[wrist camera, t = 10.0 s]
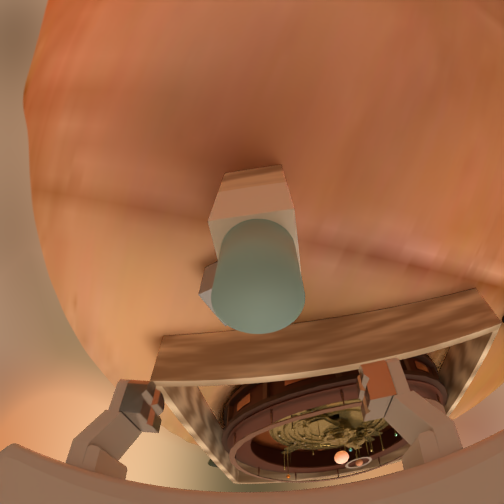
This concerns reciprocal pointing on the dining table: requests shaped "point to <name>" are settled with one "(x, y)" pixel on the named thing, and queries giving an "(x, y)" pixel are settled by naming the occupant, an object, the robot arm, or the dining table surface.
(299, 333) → the orrery frame
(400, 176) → the dining table surface
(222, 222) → the cream white cube
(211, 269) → the slate block
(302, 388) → the planetary model
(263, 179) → the tower base
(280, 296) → the sage green cylinder
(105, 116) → the dining table surface
